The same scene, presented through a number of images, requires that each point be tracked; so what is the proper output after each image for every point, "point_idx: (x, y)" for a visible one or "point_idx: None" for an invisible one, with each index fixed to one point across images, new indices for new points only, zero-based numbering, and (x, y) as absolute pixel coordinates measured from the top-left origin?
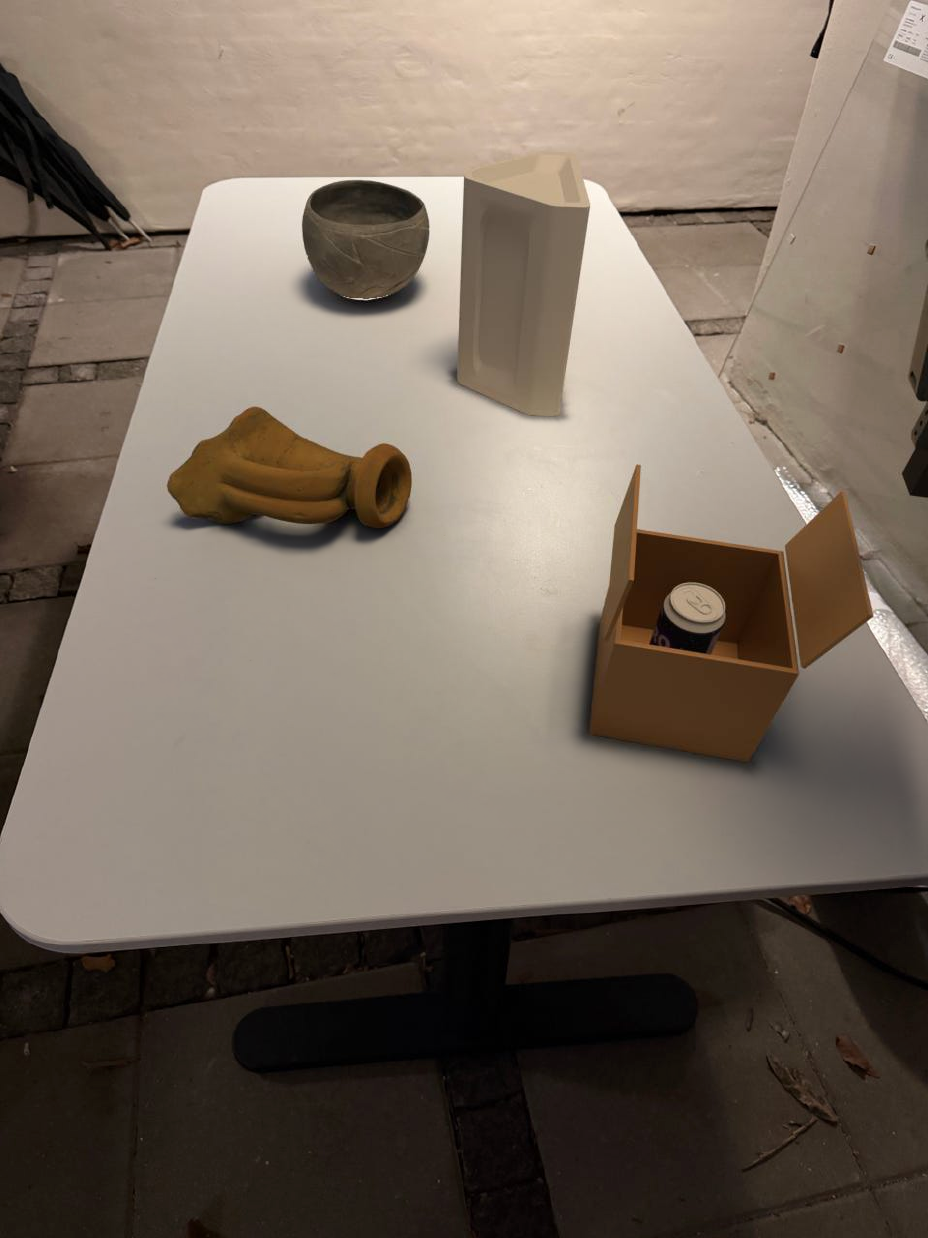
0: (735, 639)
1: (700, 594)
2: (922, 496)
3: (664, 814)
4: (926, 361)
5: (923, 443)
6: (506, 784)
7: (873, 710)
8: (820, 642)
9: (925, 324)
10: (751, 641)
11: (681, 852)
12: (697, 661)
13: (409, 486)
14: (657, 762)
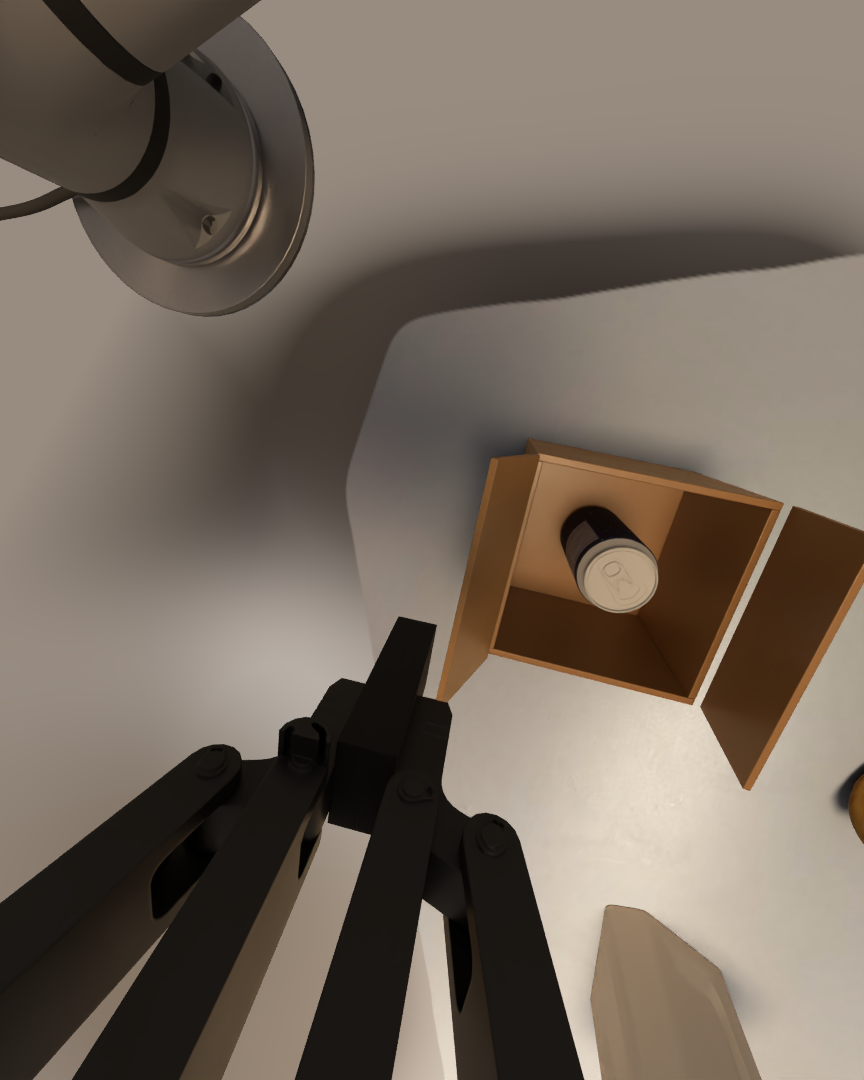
0: None
1: (610, 593)
2: (415, 620)
3: (637, 373)
4: (547, 982)
5: (435, 711)
6: (812, 406)
7: (380, 501)
8: (525, 471)
9: None
10: None
11: (632, 328)
12: (663, 477)
13: (859, 819)
14: (626, 437)
